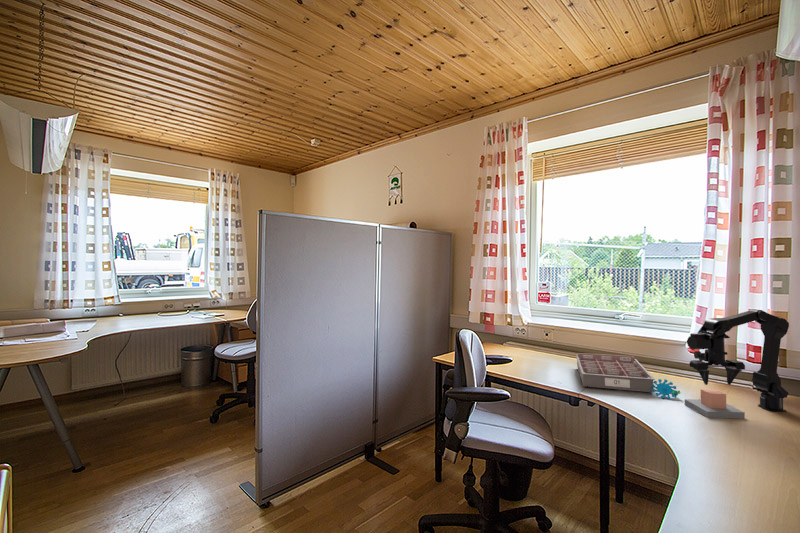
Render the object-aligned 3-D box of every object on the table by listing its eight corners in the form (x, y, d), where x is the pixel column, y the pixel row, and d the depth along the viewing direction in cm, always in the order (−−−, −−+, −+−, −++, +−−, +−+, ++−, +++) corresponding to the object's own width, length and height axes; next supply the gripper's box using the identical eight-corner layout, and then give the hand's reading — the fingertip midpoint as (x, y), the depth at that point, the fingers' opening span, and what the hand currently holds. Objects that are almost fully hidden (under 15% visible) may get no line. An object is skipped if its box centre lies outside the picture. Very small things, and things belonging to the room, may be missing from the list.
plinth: (718, 405, 163) (718, 399, 163) (744, 418, 149) (744, 412, 149) (684, 404, 164) (684, 399, 164) (707, 417, 150) (707, 411, 150)
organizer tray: (581, 389, 188) (581, 369, 188) (575, 368, 225) (575, 352, 225) (655, 396, 176) (655, 375, 176) (636, 372, 213) (636, 355, 213)
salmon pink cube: (715, 403, 159) (715, 389, 159) (726, 408, 153) (726, 394, 153) (700, 402, 160) (700, 389, 160) (710, 408, 154) (710, 393, 154)
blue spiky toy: (649, 393, 175) (653, 375, 180) (649, 399, 178) (653, 381, 183) (678, 401, 168) (681, 382, 172) (677, 407, 171) (681, 389, 176)
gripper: (724, 344, 165) (726, 378, 165) (680, 344, 167) (681, 379, 167) (745, 349, 154) (746, 386, 154) (697, 350, 156) (699, 387, 156)
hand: (717, 384), depth 158 cm, fingers open, 9 cm apart
